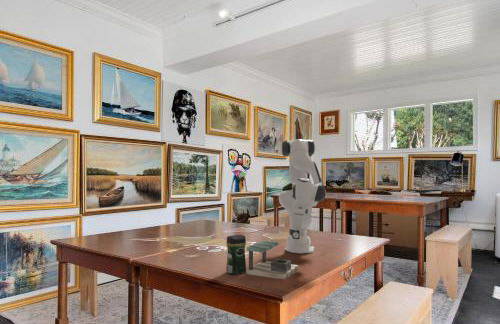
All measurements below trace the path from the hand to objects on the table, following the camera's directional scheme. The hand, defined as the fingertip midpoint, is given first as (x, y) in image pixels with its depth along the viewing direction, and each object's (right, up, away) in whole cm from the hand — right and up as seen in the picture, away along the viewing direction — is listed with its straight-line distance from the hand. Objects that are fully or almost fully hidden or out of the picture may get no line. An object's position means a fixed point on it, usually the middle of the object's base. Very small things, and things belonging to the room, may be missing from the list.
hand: (303, 235), depth 180 cm
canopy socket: (-17, -17, -8) cm, 25 cm away
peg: (0, -6, 0) cm, 6 cm away
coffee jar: (-35, -17, -10) cm, 40 cm away
